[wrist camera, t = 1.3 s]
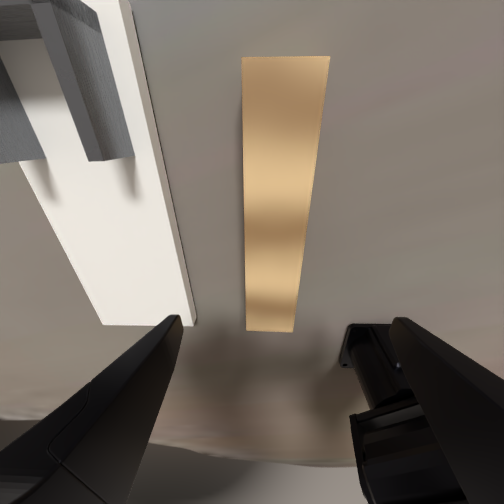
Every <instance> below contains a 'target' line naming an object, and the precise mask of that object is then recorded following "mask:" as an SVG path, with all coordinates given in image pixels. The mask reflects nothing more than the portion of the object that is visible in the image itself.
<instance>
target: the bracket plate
mask: <svg viewBox="0 0 504 504" xmlns="http://www.w3.org/2000/svg"><path fill="white" fill-rule="evenodd" d="M10 162H19V164H20V166H21V168H22V170H23V172H24V173H25V175H26V177H27V179H28V181H29V183H30V185H31V187H32V189H33V191H34V193H35V195H36V197H37V199H38V200H39V202H40V204H41V206H42V208H43V210H44V212H45V214H46V216H47V218H48V220H49V222H50V224H51V225H52V227H53V229H54V231H55V233H56V235H57V237H58V239H59V241H60V243H61V245H62V247H63V249H64V251H65V252H66V254H67V256H68V258H69V260H70V262H71V264H72V266H73V268H74V270H75V272H76V274H77V276H78V277H79V279H80V281H81V283H82V285H83V287H84V289H85V291H86V293H87V295H88V297H89V299H90V301H91V303H92V304H93V306H94V308H95V310H96V312H97V314H98V316H99V318H100V320H101V322H102V324H103V325H148V326H157V325H158V324H159V323H160V322H161V321H163V320H164V319H165V318H166V317H167V316H169V315H171V314H178V315H180V317H181V321H182V324H183V326H194V323H195V320H196V317H197V316H196V311H195V306H194V302H193V297H192V292H191V288H190V283H189V278H188V273H187V269H186V264H185V259H184V255H183V250H182V245H181V241H180V236H179V231H178V227H177V222H176V217H175V212H174V208H173V203H172V198H171V194H170V189H169V184H168V180H167V175H166V170H165V166H164V161H163V156H162V151H161V147H160V142H159V137H158V133H157V128H156V123H155V119H154V114H153V109H152V105H151V100H150V95H149V91H148V86H147V81H146V76H145V72H144V67H143V62H142V58H141V53H140V48H139V44H138V39H137V34H136V30H135V25H134V20H133V15H132V11H131V6H130V3H129V2H128V1H127V0H0V164H2V163H10Z"/></svg>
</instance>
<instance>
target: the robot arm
mask: <svg viewBox="0 0 504 504" xmlns="http://www.w3.org/2000/svg"><path fill="white" fill-rule="evenodd" d="M182 336H183V324H182V321H181V317H180V315H178V314H171V315H169V316H167V317H166V318H165V319H164V320H163V321H161V322H160V323H159V324H158V325H157V326H155V327H154V328H153V329H152V330H151V331H149V332H148V333H147V334H146V335H145V336H143V337H142V338H141V339H140V340H139V341H138V342H136V343H135V344H134V345H133V346H132V347H130V348H129V349H128V350H127V351H126V352H124V353H123V354H122V355H121V356H120V357H118V358H117V359H116V360H115V361H114V362H113V363H111V364H110V365H109V366H108V367H107V368H105V369H104V370H103V371H102V372H101V373H99V374H98V375H97V376H96V377H95V378H93V379H92V380H91V382H89V383H87V384H86V385H85V386H84V387H83V388H81V389H80V390H79V391H78V392H77V393H75V394H74V395H73V396H72V397H70V398H69V399H68V400H67V401H66V402H64V403H63V404H62V405H61V406H59V407H58V408H57V409H55V410H54V411H53V412H51V413H50V414H49V415H48V416H46V417H45V418H44V419H42V420H41V421H40V422H38V423H37V424H36V425H34V426H33V427H32V428H30V429H29V430H28V431H26V432H25V433H24V434H22V435H21V436H20V437H18V438H17V439H16V440H14V441H13V442H12V443H10V444H9V445H8V446H6V447H5V448H4V449H2V450H1V451H0V504H126V502H127V499H128V496H129V494H130V491H131V488H132V485H133V482H134V480H135V477H136V474H137V471H138V468H139V466H140V463H141V460H142V457H143V455H144V452H145V449H146V446H147V444H148V441H149V438H150V435H151V432H152V430H153V427H154V424H155V421H156V419H157V416H158V413H159V410H160V407H161V405H162V402H163V399H164V396H165V393H166V391H167V388H168V385H169V382H170V380H171V377H172V374H173V371H174V368H175V364H176V360H177V356H178V352H179V348H180V344H181V340H182ZM339 363H340V366H341V367H342V368H354V369H355V372H356V375H357V377H358V380H359V382H360V385H361V387H362V390H363V392H364V395H365V398H366V400H367V403H368V405H369V408H370V410H369V411H366V412H363V413H360V414H357V415H356V414H352V415H350V416H349V418H350V424H351V433H352V439H353V445H354V451H355V457H356V463H357V468H358V475H359V481H360V485H361V488H362V492H363V495H364V497H365V498H366V499H367V501H368V504H504V380H503V379H502V378H500V377H498V376H497V375H495V374H494V373H492V372H491V371H489V370H488V369H486V368H484V367H483V366H481V365H480V364H478V363H477V362H475V361H474V360H472V359H471V358H469V357H467V356H466V355H464V354H463V353H461V352H460V351H458V350H457V349H455V348H454V347H452V346H450V345H449V344H447V343H446V342H444V341H443V340H441V339H440V338H438V337H436V336H435V335H433V334H432V333H430V332H429V331H427V330H426V329H424V328H423V327H421V326H419V325H418V324H416V323H415V322H413V321H412V320H410V319H409V318H406V317H395V318H394V320H393V322H392V324H352V325H350V326H349V328H348V331H347V335H346V339H345V342H344V346H343V350H342V354H341V357H340V361H339Z"/></svg>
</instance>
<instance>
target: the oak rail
mask: <svg viewBox="0 0 504 504" xmlns="http://www.w3.org/2000/svg"><path fill="white" fill-rule="evenodd" d="M241 58H242V115H243V172H244V230H245V287H246V331H272V332H293V326H294V318H295V311H296V304H297V296H298V289H299V282H300V274H301V267H302V260H303V252H304V245H305V237H306V230H307V223H308V215H309V208H310V201H311V193H312V186H313V179H314V171H315V164H316V157H317V149H318V142H319V135H320V127H321V120H322V112H323V105H324V98H325V90H326V83H327V76H328V68H329V61H330V56H298V57H241Z"/></svg>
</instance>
